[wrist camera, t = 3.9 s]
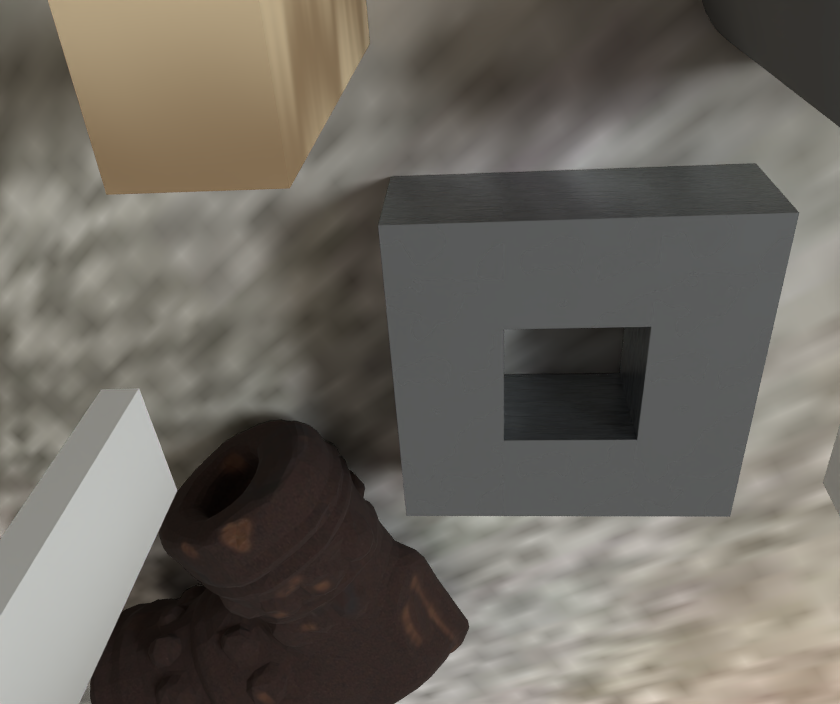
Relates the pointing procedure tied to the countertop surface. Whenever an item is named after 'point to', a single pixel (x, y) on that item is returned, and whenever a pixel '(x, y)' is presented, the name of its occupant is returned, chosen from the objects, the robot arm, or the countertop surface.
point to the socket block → (581, 308)
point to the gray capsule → (788, 43)
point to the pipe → (281, 589)
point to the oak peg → (207, 86)
